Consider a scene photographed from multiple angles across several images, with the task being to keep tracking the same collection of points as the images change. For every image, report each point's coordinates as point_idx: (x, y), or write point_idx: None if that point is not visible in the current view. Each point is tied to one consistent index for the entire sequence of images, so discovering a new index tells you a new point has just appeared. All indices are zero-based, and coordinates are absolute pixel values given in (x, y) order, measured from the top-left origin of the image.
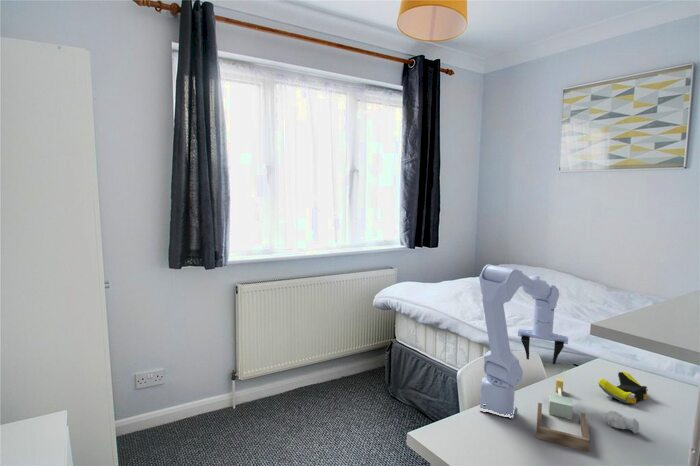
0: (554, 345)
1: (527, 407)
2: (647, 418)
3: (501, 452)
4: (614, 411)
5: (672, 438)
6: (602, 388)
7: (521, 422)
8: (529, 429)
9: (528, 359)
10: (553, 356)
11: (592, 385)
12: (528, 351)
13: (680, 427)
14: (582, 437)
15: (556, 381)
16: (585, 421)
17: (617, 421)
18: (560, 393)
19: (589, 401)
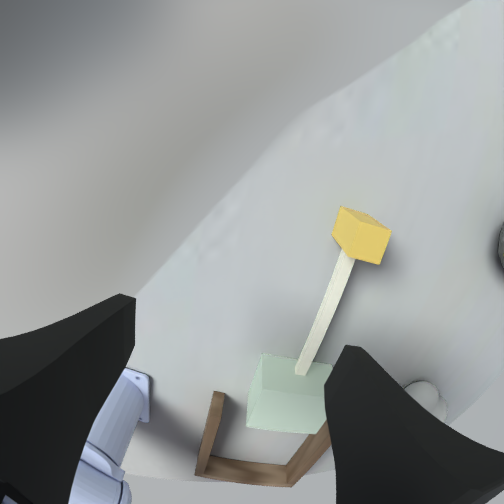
0: (417, 463)
1: (185, 372)
2: (501, 330)
3: (143, 469)
4: (428, 405)
5: (480, 387)
6: (501, 250)
7: (168, 424)
8: (185, 440)
9: (131, 346)
10: (353, 403)
11: (489, 144)
12: (97, 410)
13: None
14: (282, 484)
15: (346, 254)
16: (320, 455)
17: None
18: (332, 309)
19: (429, 284)
